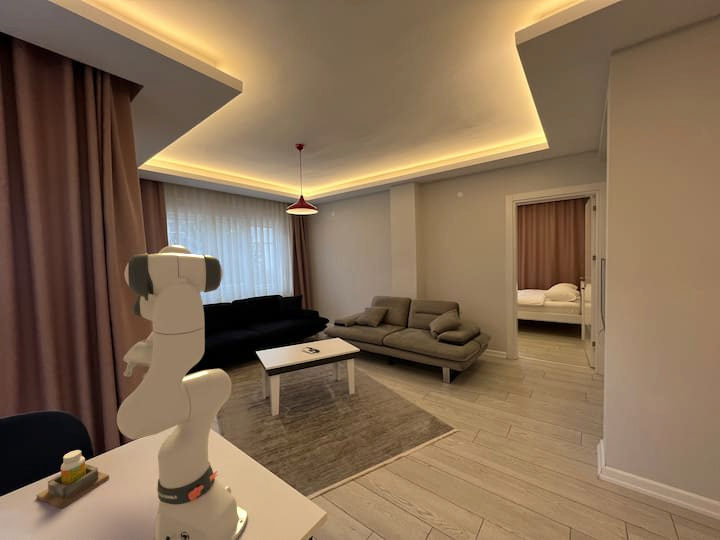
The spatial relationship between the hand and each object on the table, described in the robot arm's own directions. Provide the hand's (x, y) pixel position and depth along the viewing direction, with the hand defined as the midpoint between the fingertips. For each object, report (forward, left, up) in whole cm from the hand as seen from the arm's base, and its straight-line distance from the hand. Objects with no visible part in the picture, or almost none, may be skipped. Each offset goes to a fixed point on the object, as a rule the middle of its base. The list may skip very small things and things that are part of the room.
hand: (135, 377), depth 103 cm
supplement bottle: (+7, +15, -29) cm, 33 cm away
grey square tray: (+7, +15, -29) cm, 34 cm away
